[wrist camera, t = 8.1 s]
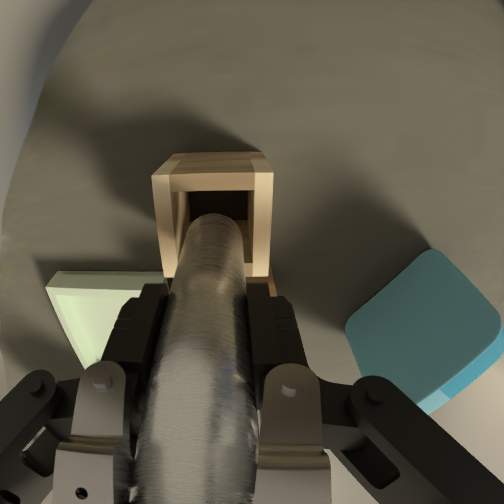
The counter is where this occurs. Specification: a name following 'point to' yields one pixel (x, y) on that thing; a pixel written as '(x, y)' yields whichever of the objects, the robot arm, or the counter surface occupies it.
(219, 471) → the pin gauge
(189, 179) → the beech block wide bore
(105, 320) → the tray
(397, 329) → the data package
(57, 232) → the counter surface
